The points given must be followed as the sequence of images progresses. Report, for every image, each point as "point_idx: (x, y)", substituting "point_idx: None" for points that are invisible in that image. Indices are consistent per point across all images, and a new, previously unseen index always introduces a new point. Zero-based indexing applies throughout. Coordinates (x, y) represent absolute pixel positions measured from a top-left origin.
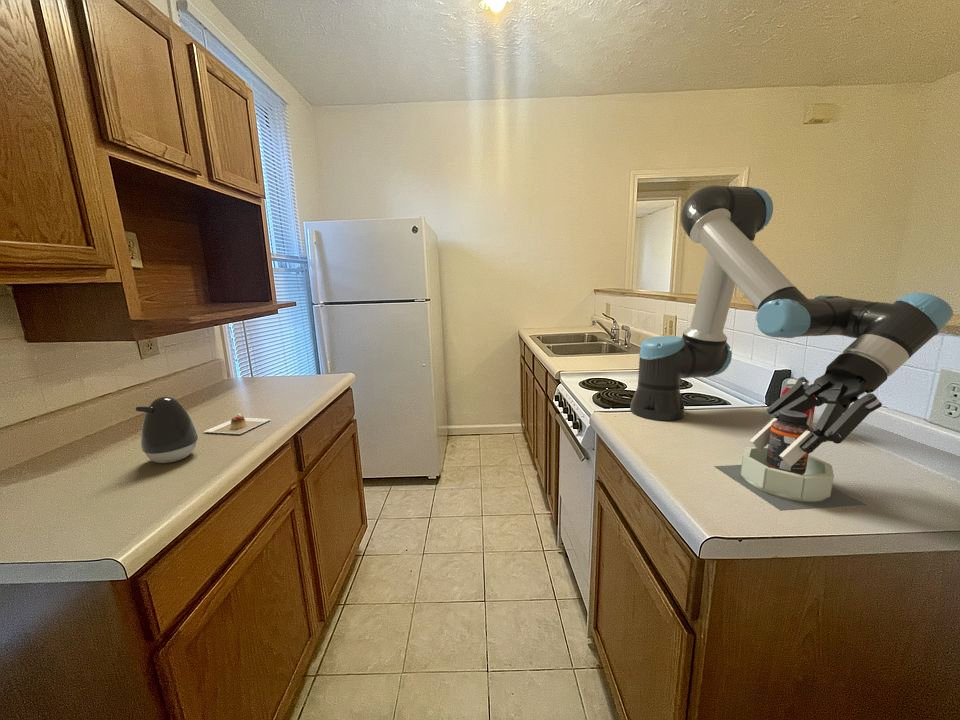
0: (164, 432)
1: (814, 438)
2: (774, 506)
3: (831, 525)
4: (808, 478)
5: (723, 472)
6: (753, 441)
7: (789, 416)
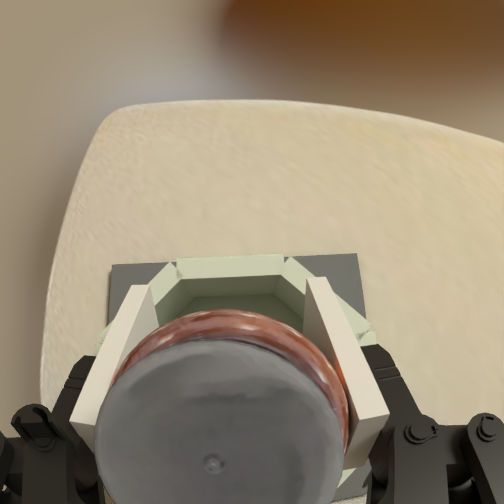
0: None
1: (58, 411)
2: (128, 264)
3: (64, 344)
4: (97, 352)
5: (316, 255)
6: (307, 280)
7: (147, 357)
